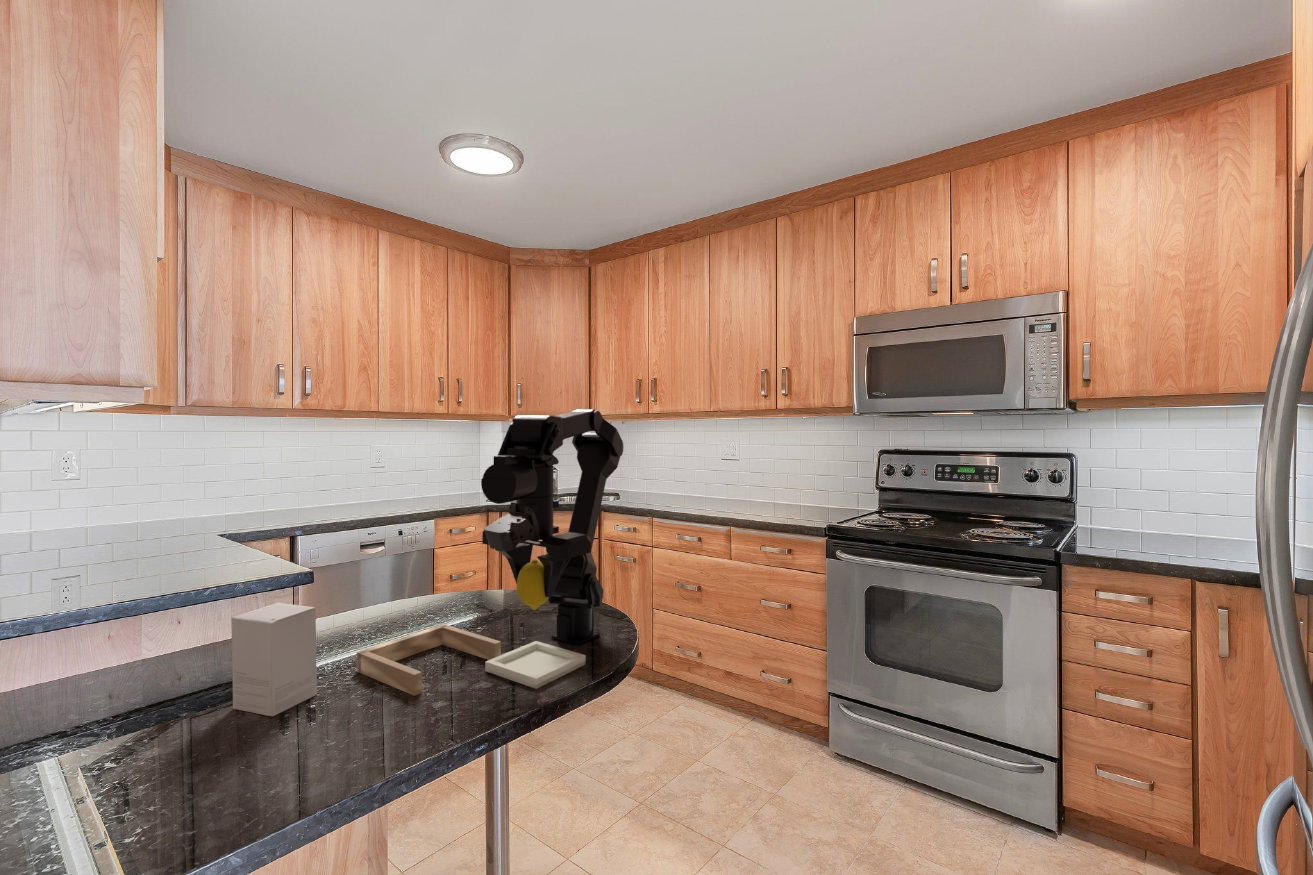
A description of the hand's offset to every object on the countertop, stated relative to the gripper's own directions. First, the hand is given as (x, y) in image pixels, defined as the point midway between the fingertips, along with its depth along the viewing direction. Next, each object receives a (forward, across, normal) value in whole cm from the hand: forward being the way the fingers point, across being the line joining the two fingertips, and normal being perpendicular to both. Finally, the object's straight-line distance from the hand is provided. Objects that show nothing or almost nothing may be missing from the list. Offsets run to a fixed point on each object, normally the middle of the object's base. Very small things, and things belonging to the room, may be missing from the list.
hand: (535, 593), depth 98 cm
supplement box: (+12, -20, -29) cm, 38 cm away
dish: (+12, 0, 0) cm, 12 cm away
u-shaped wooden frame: (+12, -14, -9) cm, 20 cm away
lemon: (+3, 0, 0) cm, 3 cm away
